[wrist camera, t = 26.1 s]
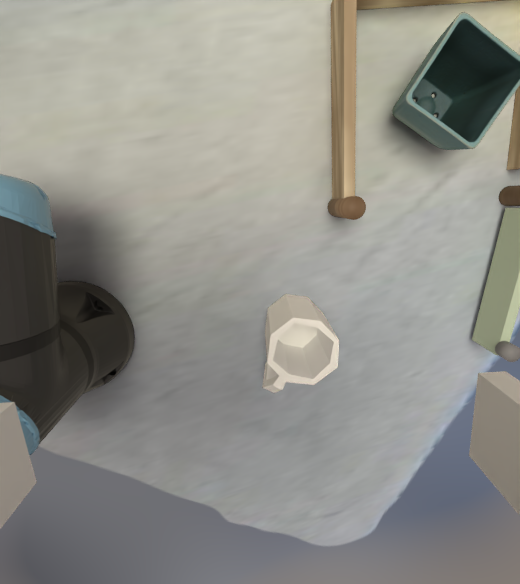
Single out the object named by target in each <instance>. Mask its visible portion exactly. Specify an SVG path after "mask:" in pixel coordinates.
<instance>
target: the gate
mask: <svg viewBox="0 0 520 584" xmlns="http://www.w3.org/2000/svg"><path fill="white" fill-rule="evenodd" d="M519 307H520V208H506V209H505V213H504V216H503V220H502V224H501V228H500V232H499V236H498V240H497V244H496V248H495V252H494V255H493V259H492V263H491V267H490V271H489V275H488V279H487V283H486V287H485V291H484V294H483V298H482V302H481V306H480V310H479V314H478V318H477V322H476V326H475V330H474V333H473V337H472V340H473V341H475V342H476V343H478V344H479V345H481V346H483V347H484V348H486V349H487V350H489V351H490V352H492V353H494V354H495V355H499V356H501V357H502V358H504V359H505V360H507V361H509V362H515V361H517V360H518V359H519V358H520V348H518V347H517V346H515V345H513V344H511V343H509V341H510V338H511V335H512V331H513V328H514V324H515V321H516V317H517V314H518V310H519Z"/></svg>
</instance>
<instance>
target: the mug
mask: <svg viewBox="0 0 520 584" xmlns="http://www.w3.org/2000/svg"><path fill="white" fill-rule="evenodd" d="M265 339H266V353H267V362H266V363H265V370H264V378H263V386H262V388H265V389H267V390H269V391H271V392H273V393H276V392H278V391H280V390H282V389H283V387H284V385H285V383H286V382H292V383H301V384H310V385H315V384H316V383H317V382H319V381H320V380H321V379H323V378H324V377H325V376H326V375H328V374H329V373H330V372H332V371H333V370H334V369H336V368H337V367H338V352H339V339H338V338H337V336H336V334H335V333H334V331H333V329H332V328H331V326H330V324H329V323H328V321H327V319H326V318H325V316H324V314H323V313H322V312H321V311H320V309H319V308H318V307H317V306H316V305H315V304H314V303H313V302H312V301H311V300H310V299H309V298H308V297H305V296H297V295H289V294H285V295H284V296H282V297H281V298H280V299H279V300H277V301H276V302H275V303H274V304H272V305H271V306H270V307H269V308H268V310H267V318H266V327H265Z"/></svg>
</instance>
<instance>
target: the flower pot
mask: <svg viewBox="0 0 520 584" xmlns="http://www.w3.org/2000/svg"><path fill="white" fill-rule="evenodd" d="M519 86H520V55H519V54H517V53H516V52H515V51H514V50H512V49H511V48H509V47H508V46H507V45H505V44H504V43H503V42H502V41H500V39H498V38H497V37H495V36H494V35H493V34H492V33H490V32H489V31H488V30H487V29H486V28H484V27H483V26H482V25H481V24H480V23H478V22H477V21H476V20H475V19H474V18H473V17H472V16H470V15H469V14H467V13H465V12H461V13H460V14H459V15H458V16H457V17H456V18H455V20H454V21H453V22H452V23H451V25H450V26H449V27H448V28H447V29H446V31H445V32H444V33H443V34H442V36H441V37H440V38H439V39H438V40H437V42H436V43H435V44H434V46H433V47H432V49H431V50H430V52H429V53H428V55H427V56H426V58H425V60H424V61H423V63H422V64H421V66H420V67H419V69H418V71H417V72H416V74H415V75H414V77H413V78H412V80H411V81H410V83H409V85H408V86H407V88H406V89H405V91H404V92H403V94H402V95H401V97H400V98H399V100H398V101H397V103H396V104H395V106H394V108H393V111H392V113H393V115H394V117H396V118H397V119H398V120H400V121H401V122H403V123H404V124H405V125H407V126H408V127H409V128H411V129H412V130H414V131H415V132H416V133H418V134H419V135H421V136H422V137H423V138H425V139H426V140H427V141H429V142H430V143H432V144H433V145H435V146H436V147H438V148H441V149H445V150H456V149H473V148H475V147H476V146H477V145H478V144H479V143H480V141H481V140H482V138H483V137H484V136H485V134H486V132H487V131H488V130H489V128H490V126H491V125H492V124H493V122H494V121H495V119H496V118H497V116H498V115H499V114H500V112H501V111H502V109H503V108H504V107H505V105H506V104H507V102H508V101H509V100H510V98H511V97H512V95H513V94H514V93H515V91H516V90H517V88H518V87H519ZM432 93H434V94H435V97H434V98H432V96H431V95H432ZM414 98H416V100H417V101H416V102H414V101H413V99H414ZM434 114H437V118H436V117H434V116H433V115H434Z"/></svg>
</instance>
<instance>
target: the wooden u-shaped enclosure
mask: <svg viewBox="0 0 520 584" xmlns="http://www.w3.org/2000/svg"><path fill="white" fill-rule="evenodd" d="M485 1H500V0H333V1H332V3H331V98H332V199H331V200H330V201H329V203H328V211H329V213H330V214H331V215H333V216H336V217H341V218H347V219H352V220H355V219H358V218H360V217H361V216H362V215H363V214H364V212H365V209H366V205H365V202H364V200H363V199H362V198H360V197H358V196H355V121H356V10H362V9H377V8H393V7H408V6H423V5H439V4H454V3H469V2H485ZM513 169H520V86H519V87H518V88H517V90H516V94H515V103H514V112H513V120H512V129H511V138H510V146H509V155H508V164H507V170H513ZM499 201H500V203H501V204H503V205H505V206H520V186H508V187H505V188H504V189H503V190H502V191H501V192H500V195H499Z"/></svg>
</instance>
